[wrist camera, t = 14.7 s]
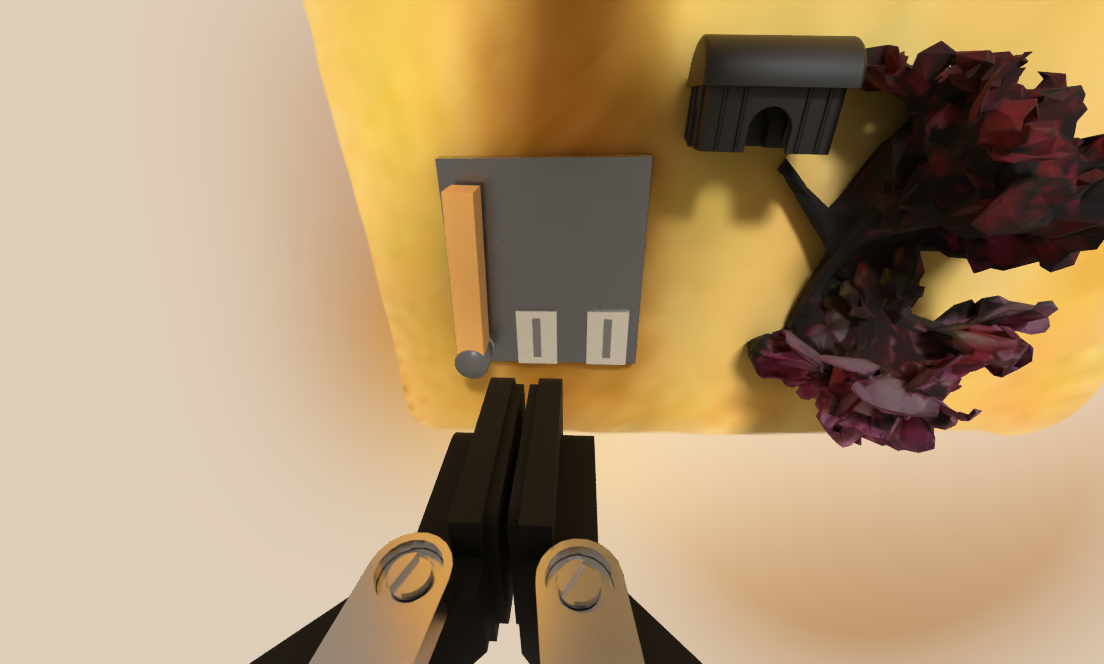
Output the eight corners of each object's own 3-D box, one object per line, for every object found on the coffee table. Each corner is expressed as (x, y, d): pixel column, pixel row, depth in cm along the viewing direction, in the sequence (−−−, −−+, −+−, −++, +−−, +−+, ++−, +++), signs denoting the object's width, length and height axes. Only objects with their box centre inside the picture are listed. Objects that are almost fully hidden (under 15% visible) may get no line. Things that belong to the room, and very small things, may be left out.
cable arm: (494, 362, 46) (489, 379, 43) (463, 361, 46) (456, 377, 44) (484, 185, 38) (477, 193, 35) (446, 184, 38) (436, 192, 35)
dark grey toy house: (829, 42, 33) (881, 30, 27) (802, 146, 36) (843, 156, 30) (690, 40, 34) (712, 28, 28) (676, 143, 37) (693, 151, 31)
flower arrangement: (802, 47, 33) (960, 26, 20) (1080, 42, 32) (1432, 16, 19) (727, 390, 48) (788, 506, 35) (915, 391, 48) (1048, 509, 34)
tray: (439, 156, 38) (433, 159, 37) (650, 154, 37) (653, 157, 36) (465, 354, 48) (461, 363, 47) (633, 357, 47) (635, 366, 46)
